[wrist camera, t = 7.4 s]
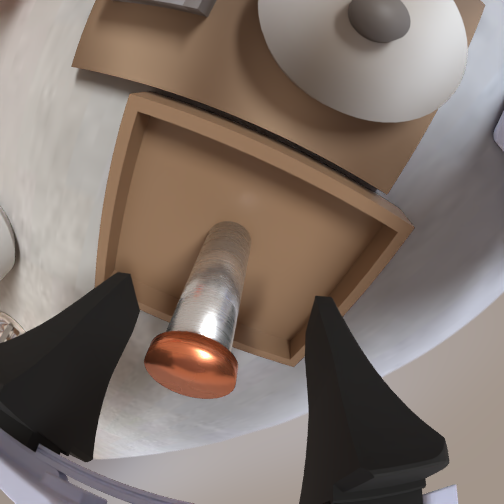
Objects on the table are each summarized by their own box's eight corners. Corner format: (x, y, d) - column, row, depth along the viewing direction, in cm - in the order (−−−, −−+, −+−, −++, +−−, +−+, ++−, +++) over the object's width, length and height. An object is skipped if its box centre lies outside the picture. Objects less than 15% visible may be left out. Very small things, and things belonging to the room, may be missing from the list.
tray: (400, 208, 13) (414, 227, 11) (293, 343, 19) (293, 366, 17) (150, 91, 11) (129, 93, 9) (109, 268, 17) (94, 287, 15)
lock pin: (257, 216, 13) (232, 353, 7) (257, 265, 15) (237, 403, 8) (199, 214, 14) (132, 340, 7) (204, 262, 15) (157, 390, 9)
